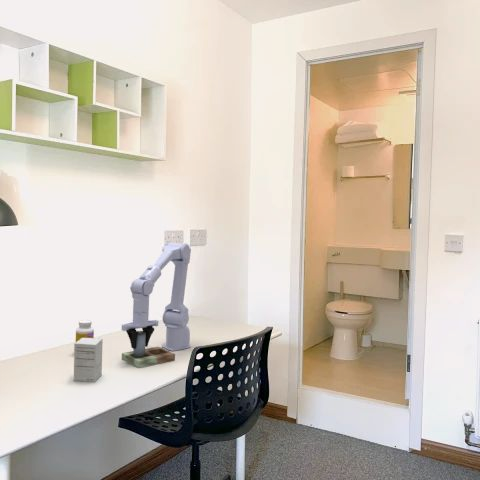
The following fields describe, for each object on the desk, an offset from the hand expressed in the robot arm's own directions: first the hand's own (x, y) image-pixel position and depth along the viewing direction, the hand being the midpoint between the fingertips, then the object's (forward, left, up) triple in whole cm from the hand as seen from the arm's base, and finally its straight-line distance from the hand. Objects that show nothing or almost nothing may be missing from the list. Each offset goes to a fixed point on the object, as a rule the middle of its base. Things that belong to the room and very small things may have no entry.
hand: (139, 347), depth 178 cm
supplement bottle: (+12, -20, -6) cm, 24 cm away
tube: (0, 0, -2) cm, 2 cm away
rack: (-4, 0, -6) cm, 7 cm away
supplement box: (+22, +5, -6) cm, 24 cm away
